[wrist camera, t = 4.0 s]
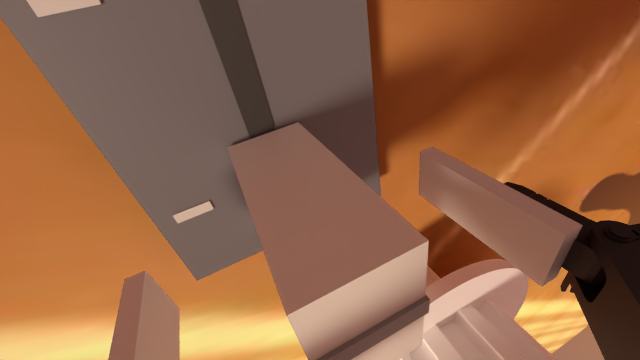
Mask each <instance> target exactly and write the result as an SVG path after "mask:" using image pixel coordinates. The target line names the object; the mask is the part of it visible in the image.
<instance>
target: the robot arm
mask: <svg viewBox="0 0 640 360" xmlns="http://www.w3.org/2000/svg"><path fill="white" fill-rule="evenodd" d="M419 195H421V196H422V197H423V198H424V199H426V200H427V201H428V202H430V203H431V204H432V205H434V206H435V207H436V208H438V209H439V210H440V211H442V212H443V213H444V214H446V215H447V216H448V217H450V218H451V219H452V220H454V221H455V222H456V223H458V224H459V225H460V226H462V227H463V228H464V229H466V230H467V231H468V232H470V233H471V234H472V235H474V236H475V237H476V238H478V239H479V240H480V241H482V242H483V243H484V244H486V245H487V246H488V247H490V248H491V249H492V250H494V251H495V252H496V253H498V254H499V255H500V256H502V257H503V258H504V259H506V260H507V261H508V262H510V263H511V264H512V265H514V266H515V267H516V268H518V269H519V270H520V271H522V272H523V273H524V274H526V275H527V276H528V277H530V278H531V279H532V280H534V281H535V282H536V283H538V284H539V285H540V286H541V287H542V286H543V285H545V284H546V283H548V282H549V281H551V280H553V279H554V278H556V276H557V275H558V273H559V271H560V269H561V267H563V268H564V269H566V270H567V271H568V273H567V275H566V277H565V279H564V280H563V282H562V284H561V291H564V292H565V291H566V289H567V287H568V286H569V284H570V285H571V290H570V292H572V293H575V296H576V298H577V300H578V302H579V304H580V307H581V309H582V311H583V313H584V315H585V317H586V320H587V322H588V324H589V326H590V328H591V331H592V333H593V335H594V337H595V339H596V341H597V344H598V346H599V348H600V350H601V352H602V355H603V357H604V359H605V360H640V224H635V225H627V224H624V223H621V222H617V221H610V220H607V221H599V222H595V221H592V220H590V219H588V218H586V217H584V216H582V215H580V214H578V213H576V212H574V211H572V210H570V209H568V208H566V207H564V206H562V205H560V204H558V203H556V202H554V201H552V200H550V199H549V200H547V198H546V197H544V196H542V195H540V194H536V192H534V191H532V190H530V189H528V188H526V187H524V186H521V185H517V184H514V183H510V182H506V183H504V184H503V183H501V182H499V181H497V180H495V179H493V178H491V177H490V176H488V175H486V174H484V173H482V172H480V171H478V170H476V169H474V168H472V167H470V166H469V165H467V164H465V163H463V162H461V161H459V160H457V159H455V158H453V157H451V156H449V155H448V154H446V153H444V152H442V151H440V150H438V149H436V148H434V147H430V148H428V149H425V150H423V151H421V152H420V169H419ZM108 360H179V307H178V306H177V305H176V304H175V303H174V302H173V301H172V299H171V298H170V297H169V296H168V295H167V294H166V293H165V292H164V290H163V289H162V288H161V287H160V286H159V285H158V284H157V283H156V282H155V280H154V279H153V278H152V277H151V276H150V275H149V274H148V273H147V272H146V270H145V271H143V272H141V273H138V274H136V275H134V276H132V277H129V278H127V279H125V280H124V285H123V290H122V295H121V300H120V305H119V310H118V315H117V319H116V324H115V329H114V334H113V339H112V344H111V349H110V354H109V359H108Z"/></svg>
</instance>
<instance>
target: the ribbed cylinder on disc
mask: <svg viewBox="0 0 640 360" xmlns="http://www.w3.org/2000/svg"><path fill="white" fill-rule="evenodd" d="M527 291H528V278H527V275H526V274H524V273H523V272H522V271H520V270H519V269H518V268H516V267H515V266H514V265H512V264H511V263H510V262H508V261H507V260H503V259H489V260H484V261H480V262H476V263H473V264H470V265H468V266H465V267H463V268H460V269H458V270H456V271H454V272H452V273H450V274H448V275H446V276H444V277H442V278H440V277H439V276H438V275H437V274H436V273H435V272H434V271H433V270H432V269H431V268H430V267H429V266H427V276H426V292H425V294H426V295H427V296H428V298H429V299H430V305H429V313H427V314H426V315H424V325H423V341H422V346H420V347H418V348H417V349H415V350H414V351H412V352H411V353H409V354H407V355H406V356H404V357H403V358H401V359H400V360H557V359H556V358H555V357H553V356H552V355H551V354H550V353H549V352H548V351H547V350H546V349H545V348H544V347H543V346H542V345H540V344H539V343H538V342H537V341H536V340H535V339H534V338H533V337H532V336H531V335H530V334H528V333H527V332H526V331H525V330H524V329H523V328H522V327H521V326H520V325H519V324H517V323H516V322H515V321H514V320H513V319H514V318H515V316H516V315H517V313H518V311H519V310H520V308H521V306H522V304H523V302H524V300H525V297H526V294H527Z"/></svg>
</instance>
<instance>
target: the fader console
mask: <svg viewBox="0 0 640 360" xmlns="http://www.w3.org/2000/svg"><path fill="white" fill-rule="evenodd" d="M0 17H1V19H2V20H3V21H4V23H5V24H6V25H7V27H8V28H9V29H10V31H11V32H12V33H13V35H14V36H15V37H16V39H17V40H18V41H19V43H20V44H21V45H22V47H23V48H24V49H25V51H26V52H27V53H28V55H29V56H30V57H31V59H32V60H33V61H34V63H35V64H36V65H37V67H38V68H39V70H40V71H41V72H42V74H43V75H44V76H45V78H46V79H47V80H48V82H49V83H50V84H51V86H52V87H53V88H54V90H55V91H56V92H57V94H58V95H59V96H60V98H61V99H62V100H63V102H64V103H65V104H66V106H67V107H68V108H69V110H70V111H71V112H72V114H73V115H74V116H75V118H76V119H77V120H78V122H79V123H80V124H81V126H82V127H83V128H84V130H85V131H86V132H87V134H88V135H89V136H90V138H91V139H92V140H93V142H94V143H95V144H96V146H97V147H98V149H99V150H100V151H101V153H102V154H103V155H104V157H105V158H106V159H107V161H108V162H109V163H110V165H111V166H112V167H113V169H114V170H115V171H116V173H117V174H118V175H119V177H120V178H121V179H122V181H123V182H124V183H125V185H126V186H127V187H128V189H129V190H130V191H131V193H132V194H133V195H134V197H135V198H136V199H137V201H138V202H139V203H140V205H141V206H142V207H143V209H144V210H145V211H146V213H147V214H148V215H149V217H150V218H151V219H152V221H153V222H154V223H155V225H156V226H157V227H158V229H159V230H160V232H161V233H162V234H163V236H164V237H165V238H166V240H167V241H168V242H169V244H170V245H171V246H172V248H173V249H174V250H175V252H176V253H177V254H178V256H179V257H180V258H181V260H182V261H183V262H184V264H185V265H186V266H187V268H188V269H189V270H190V272H191V273H192V274H193V276H194V277H195V278H196V280H199V279H202V278H204V277H206V276H208V275H210V274H212V273H215V272H217V271H219V270H221V269H223V268H225V267H228V266H230V265H232V264H234V263H236V262H239V261H241V260H243V259H245V258H247V257H249V256H252V255H254V254H256V253H258V252H260V251H262V250H263V248H262V245H261V242H260V240H259V237H258V234H257V231H256V229H255V226H254V223H253V220H252V217H251V215H250V212H249V209H248V206H247V203H246V201H245V198H244V195H243V192H242V189H241V187H240V184H239V181H238V178H237V175H236V173H235V170H234V167H233V164H232V162H231V159H230V156H229V153H228V150H227V147H230V146H233V145H236V144H238V143H241V142H244V141H247V140H250V139H252V138H255V137H258V136H261V135H264V134H267V133H269V132H272V131H275V130H278V129H281V128H283V127H286V126H289V125H292V124H295V123H297V122H299V123H300V124H301V125H302V126H303V127H304V128H305V129H306V130H307V131H309V132H310V133H311V134H312V135H313V136H314V137H315V138H316V139H317V140H318V141H320V142H321V143H322V144H323V145H324V146H325V147H326V148H327V149H328V150H329V151H331V152H332V153H333V154H334V155H335V156H336V157H337V158H338V159H339V160H341V161H342V162H343V163H344V164H345V165H346V166H347V167H348V168H349V169H350V170H352V171H353V172H354V173H355V174H356V175H357V176H358V177H359V178H360V179H361V180H363V181H364V182H365V183H366V184H367V185H368V186H369V187H370V188H371V189H372V190H374V191H375V192H376V193H377V194H378V195H379V196H381V187H380V174H379V160H378V147H377V134H376V120H375V107H374V93H373V80H372V66H371V53H370V40H369V26H368V13H367V0H0Z"/></svg>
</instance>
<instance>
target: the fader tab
mask: <svg viewBox="0 0 640 360" xmlns="http://www.w3.org/2000/svg"><path fill="white" fill-rule="evenodd" d="M227 150H228V153H229V156H230V159H231V162H232V164H233V167H234V170H235V173H236V175H237V178H238V181H239V184H240V187H241V189H242V192H243V195H244V198H245V201H246V203H247V206H248V209H249V212H250V215H251V217H252V220H253V223H254V226H255V229H256V231H257V234H258V237H259V240H260V242H261V245H262V248H263V251H264V254H265V256H266V259H267V262H268V265H269V268H270V270H271V273H272V276H273V279H274V282H275V284H276V287H277V290H278V293H279V296H280V298H281V301H282V304H283V307H284V309H285V312H286V315H287V317H288V319H289V321H290V323H291V325H292V327H293V330H294V332H295V334H296V336H297V338H298V340H299V342H300V344H301V346H302V348H303V350H304V352H305V354H306V356H307V358H308V360H400V359H401V358H403V357H404V356H406V355H407V354H409V353H411V352H412V351H414V350H415V349H417V348H418V347H420V346H422V341H423V325H424V315H426V314H427V313H429V305H430V299H429V298H428V296H427V295H426V294H425V292H426V276H427V260H428V244H429V240H428V239H426V238H425V237H424V236H423V235H422V234H421V233H420V232H419V231H418V230H417V229H415V228H414V227H413V226H412V225H411V224H410V223H409V222H408V221H407V220H406V219H404V218H403V217H402V216H401V215H400V214H399V213H398V212H397V211H396V210H395V209H393V208H392V207H391V206H390V205H389V204H388V203H387V202H386V201H385V200H383V199H382V198H381V197H380V196H379V195H378V194H377V193H376V192H375V191H374V190H372V189H371V188H370V187H369V186H368V185H367V184H366V183H365V182H364V181H363V180H361V179H360V178H359V177H358V176H357V175H356V174H355V173H354V172H353V171H352V170H350V169H349V168H348V167H347V166H346V165H345V164H344V163H343V162H342V161H341V160H339V159H338V158H337V157H336V156H335V155H334V154H333V153H332V152H331V151H329V150H328V149H327V148H326V147H325V146H324V145H323V144H322V143H321V142H320V141H318V140H317V139H316V138H315V137H314V136H313V135H312V134H311V133H310V132H309V131H307V130H306V129H305V128H304V127H303V126H302V125H301V124H300V123H299V122H297V123H295V124H292V125H289V126H286V127H283V128H281V129H278V130H275V131H272V132H269V133H267V134H264V135H261V136H258V137H255V138H252V139H250V140H247V141H244V142H241V143H238V144H236V145H233V146H230V147H227Z"/></svg>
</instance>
